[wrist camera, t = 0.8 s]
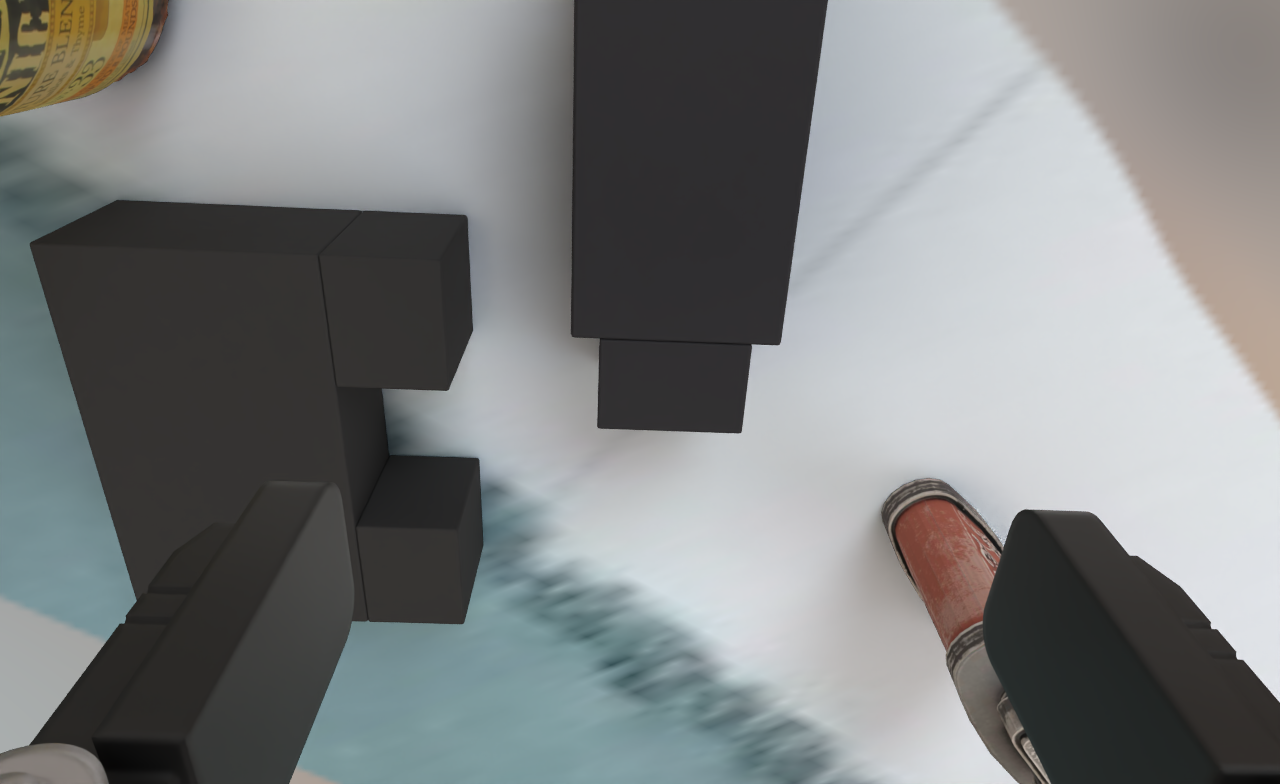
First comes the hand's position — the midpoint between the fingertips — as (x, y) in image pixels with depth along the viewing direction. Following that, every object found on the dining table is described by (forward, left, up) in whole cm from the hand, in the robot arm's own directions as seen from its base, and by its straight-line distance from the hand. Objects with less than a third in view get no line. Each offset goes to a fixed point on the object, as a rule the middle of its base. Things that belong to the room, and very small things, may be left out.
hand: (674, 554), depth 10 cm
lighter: (+13, +12, -16) cm, 24 cm away
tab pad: (-1, +1, -16) cm, 16 cm away
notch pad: (+7, -10, -16) cm, 20 cm away
